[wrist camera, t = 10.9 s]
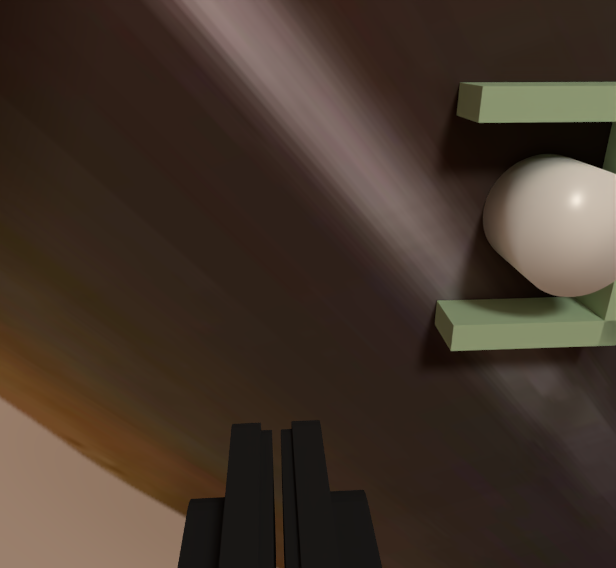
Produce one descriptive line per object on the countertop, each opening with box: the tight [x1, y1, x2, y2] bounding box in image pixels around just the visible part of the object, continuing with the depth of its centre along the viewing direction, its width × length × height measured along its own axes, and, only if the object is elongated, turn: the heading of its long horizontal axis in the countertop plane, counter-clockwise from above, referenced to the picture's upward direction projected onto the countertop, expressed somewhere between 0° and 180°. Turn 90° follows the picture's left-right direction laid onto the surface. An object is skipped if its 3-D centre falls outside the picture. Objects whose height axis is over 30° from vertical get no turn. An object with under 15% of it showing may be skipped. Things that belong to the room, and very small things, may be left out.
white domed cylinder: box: [483, 154, 616, 297], centre depth 26 cm, size 6×6×4 cm
